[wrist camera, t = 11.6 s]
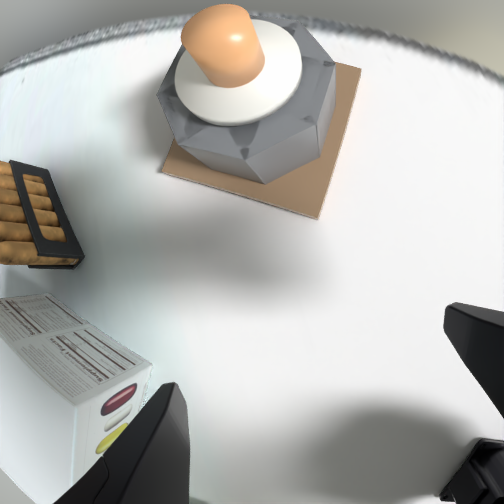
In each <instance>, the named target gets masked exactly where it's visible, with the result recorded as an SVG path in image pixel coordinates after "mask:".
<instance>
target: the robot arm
mask: <svg viewBox="0 0 504 504" xmlns="http://www.w3.org/2000/svg"><path fill="white" fill-rule="evenodd" d="M443 328H444V332H445V334H446V335H447V337H448V338H449V340H450V341H451V343H452V345H453V346H454V348H455V349H456V351H457V353H458V354H459V356H460V358H461V359H462V361H463V362H464V364H465V365H466V367H467V368H468V369H469V371H470V372H471V373H472V375H473V376H474V377H475V379H476V380H477V381H478V383H479V384H480V385H481V387H482V388H483V390H484V391H485V392H486V394H487V395H488V397H489V398H490V399H491V401H492V402H493V404H494V405H495V407H496V408H497V409H498V411H499V412H500V414H501V415H502V417H503V418H504V312H502V311H497V310H492V309H487V308H482V307H477V306H473V305H468V304H463V303H458V302H455V303H452V304H450V305H448V306H447V307H446V309H445V316H444V325H443ZM481 445H482V446H481ZM189 475H190V439H189V428H188V416H187V405H186V402H185V399H184V397H183V395H182V393H181V391H180V389H179V387H178V385H177V384H176V383H175V382H172V383H165V384H163V385H161V387H160V388H159V389H158V390H157V391H156V393H155V394H154V395H153V396H152V397H151V398H150V400H149V401H148V402H147V403H146V404H145V406H144V407H143V408H142V409H141V410H140V411H139V413H138V414H137V415H136V416H135V417H134V418H133V420H132V421H131V422H130V423H129V424H128V425H127V427H126V428H125V429H124V430H123V431H122V432H121V434H120V435H119V436H118V437H117V438H116V439H115V441H114V442H113V443H112V444H111V445H110V446H109V448H108V449H107V450H106V451H105V452H104V453H103V456H101V457H100V458H99V459H98V460H97V461H96V462H95V464H94V465H93V466H92V467H91V468H90V469H89V470H88V471H87V472H86V473H85V474H84V475H83V476H82V477H81V478H80V479H79V480H78V481H77V482H76V483H75V484H74V485H73V486H72V487H71V488H70V489H69V490H67V491H66V492H65V493H64V494H63V495H62V496H61V497H60V498H59V499H57V500H56V501H55V502H54V503H53V504H189ZM439 498H440V500H441V501H447V502H455V503H456V504H504V441H496V440H488V439H482V440H480V441H479V442H478V443H477V444H476V446H475V447H474V449H473V451H472V452H471V454H470V455H469V456H468V458H467V459H466V461H465V462H464V464H463V465H462V467H461V468H460V469H459V471H458V472H457V473H456V475H455V476H454V477H453V479H452V480H451V481H450V483H449V484H448V485H447V486H446V488H445V489H444V490H443V491H442V493H441V494H440V495H439Z"/></svg>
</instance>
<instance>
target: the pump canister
mask: <svg viewBox="0 0 504 504" xmlns="http://www.w3.org/2000/svg"><path fill="white" fill-rule="evenodd" d="M249 16H250V19H256V20H263V21H267V22H271V23H273V24H276V25H278V26H280V27H281V28H283V29H284V30H286V31H287V32H288V33H289V34H290V35H291V36H292V37H293V38H294V40H295V41H296V43H297V45H298V47H299V50H300V54H301V59H302V68H303V70H302V77H301V81H300V84H299V86H298V88H297V90H296V92H295V93H294V95H293V96H292V97H291V99H290V100H289V101H288V102H287V103H286V104H285V105H284V106H283V107H282V108H280V109H279V110H278V111H276V112H275V113H273V114H272V115H270V116H268V117H266V118H264V119H262V120H259V121H256V122H253V123H250V124H245V125H239V126H221V125H215V124H211V123H208V122H206V121H203V120H201V119H200V118H198V117H197V116H195V115H194V114H193V113H192V112H191V111H190V110H189V109H188V108H187V107H186V106H185V105H184V104H183V103H182V101H181V100H180V98H179V97H178V94H177V92H176V88H175V72H176V68H177V65H178V62H179V60H180V58H181V56H182V55H183V53H184V52H185V50H186V48H185V47H184V46H183V44H182V45H181V47H180V49H179V51H178V53H177V55H176V57H175V59H174V61H173V62H172V64H171V66H170V68H169V70H168V72H167V74H166V76H165V78H164V81H163V83H162V85H161V87H160V89H159V91H158V93H157V96H158V99H159V101H160V103H161V106H162V108H163V111H164V113H165V115H166V118H167V120H168V122H169V125H170V127H171V129H172V132H173V134H174V140H173V142H172V145H171V147H170V150H169V153H168V155H167V158H166V161H165V163H164V166H163V169H162V172H164V173H166V174H168V175H171V176H174V177H178V178H182V179H185V180H189V181H192V182H196V183H199V184H203V185H206V186H210V187H213V188H217V189H220V190H224V191H227V192H230V193H234V194H237V195H240V196H244V197H247V198H250V199H253V200H257V201H260V202H263V203H266V204H270V205H273V206H276V207H279V208H282V209H285V210H288V211H291V212H295V213H298V214H301V215H304V216H307V217H310V218H313V219H316V220H318V219H319V216H320V213H321V210H322V207H323V204H324V201H325V198H326V195H327V191H328V188H329V185H330V182H331V179H332V175H333V172H334V169H335V165H336V162H337V159H338V155H339V152H340V149H341V145H342V142H343V138H344V135H345V131H346V128H347V124H348V121H349V117H350V114H351V110H352V106H353V103H354V99H355V95H356V92H357V88H358V84H359V80H360V76H361V69H360V68H357V67H353V66H349V65H346V64H342V63H338V62H334V61H333V60H332V59H331V57H330V56H329V55H328V54H327V52H326V51H325V50H324V49H323V48H322V46H321V45H320V44H319V43H318V42H317V41H316V39H315V38H314V37H313V36H312V35H311V34H310V33H309V31H308V30H307V29H306V28H305V27H304V26H303V25H302V24H301V23H300V21H297V20H289V19H282V18H273V17H263V16H251V15H249Z"/></svg>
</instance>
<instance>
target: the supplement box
mask: <svg viewBox="0 0 504 504" xmlns="http://www.w3.org/2000/svg"><path fill="white" fill-rule="evenodd" d="M152 369H153V364H152V363H150V362H149V361H147V360H145V359H144V358H142V357H141V356H139V355H137V354H136V353H134V352H133V351H131V350H129V349H128V348H126V347H125V346H123V345H121V344H120V343H118V342H117V341H115V340H114V339H112V338H111V337H109V336H108V335H106V334H105V333H103V332H102V331H100V330H99V329H97V328H96V327H94V326H93V325H91V324H90V323H88V322H87V321H86V320H84V319H83V318H81V317H80V316H79V315H77V314H76V313H74V312H73V311H72V310H70V309H69V308H68V307H66V306H65V305H64V304H62V303H61V302H60V301H59V300H57V299H56V298H55V297H53V296H52V295H51V294H50V293H46V294H39V295H31V296H21V297H10V298H0V468H1V469H2V470H3V471H4V472H5V473H6V474H7V475H8V476H9V477H10V479H11V480H12V481H13V482H14V483H15V484H16V485H17V486H18V487H19V488H20V489H21V490H22V491H23V492H24V493H25V494H26V495H27V496H28V497H29V498H30V499H31V500H32V501H33V502H35V503H36V504H53V503H54V502H55V501H56V500H57V499H59V498H60V497H61V496H62V495H63V494H64V493H65V492H66V491H67V490H69V489H70V488H71V487H72V486H73V485H74V484H75V483H76V482H77V481H78V480H79V479H80V478H81V477H82V476H83V475H84V474H85V473H86V472H87V471H88V470H89V469H90V468H91V467H92V466H93V465H94V464H95V462H96V461H97V460H98V459H99V458H100V457H101V456H103V453H104V452H105V451H106V450H107V449H108V448H109V446H110V445H111V444H112V443H113V442H114V441H115V439H116V438H117V437H118V436H119V435H120V434H121V432H122V431H123V430H124V429H125V428H126V427H127V425H128V424H129V423H130V422H131V421H132V420H133V418H134V417H135V416H136V415H137V414H138V413H139V411H140V410H141V408H142V404H143V401H144V397H145V394H146V390H147V387H148V383H149V379H150V376H151V372H152Z"/></svg>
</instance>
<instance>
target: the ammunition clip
mask: <svg viewBox="0 0 504 504" xmlns="http://www.w3.org/2000/svg"><path fill="white" fill-rule="evenodd" d="M84 257H85V255H84V253H83V251H82V249H81V247H80V245H79V243H78V241H77V239H76V236H75V234H74V232H73V230H72V228H71V225H70V223H69V221H68V219H67V216H66V214H65V212H64V209H63V207H62V204H61V202H60V200H59V197H58V195H57V192H56V190H55V187H54V184H53V182H52V179H51V177H50V174H49V171H48V170H47V169H43V168H40V167H36V166H32V165H28V164H24V163H21V162H17V161H13V160H10V161H9V162H8V163H7V162H3V161H0V264H4V265H28V267H29V268H37V269H75V268H76V266H77V265H78V264H79V263H80V262H81V261H82V260H83V259H84Z"/></svg>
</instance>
